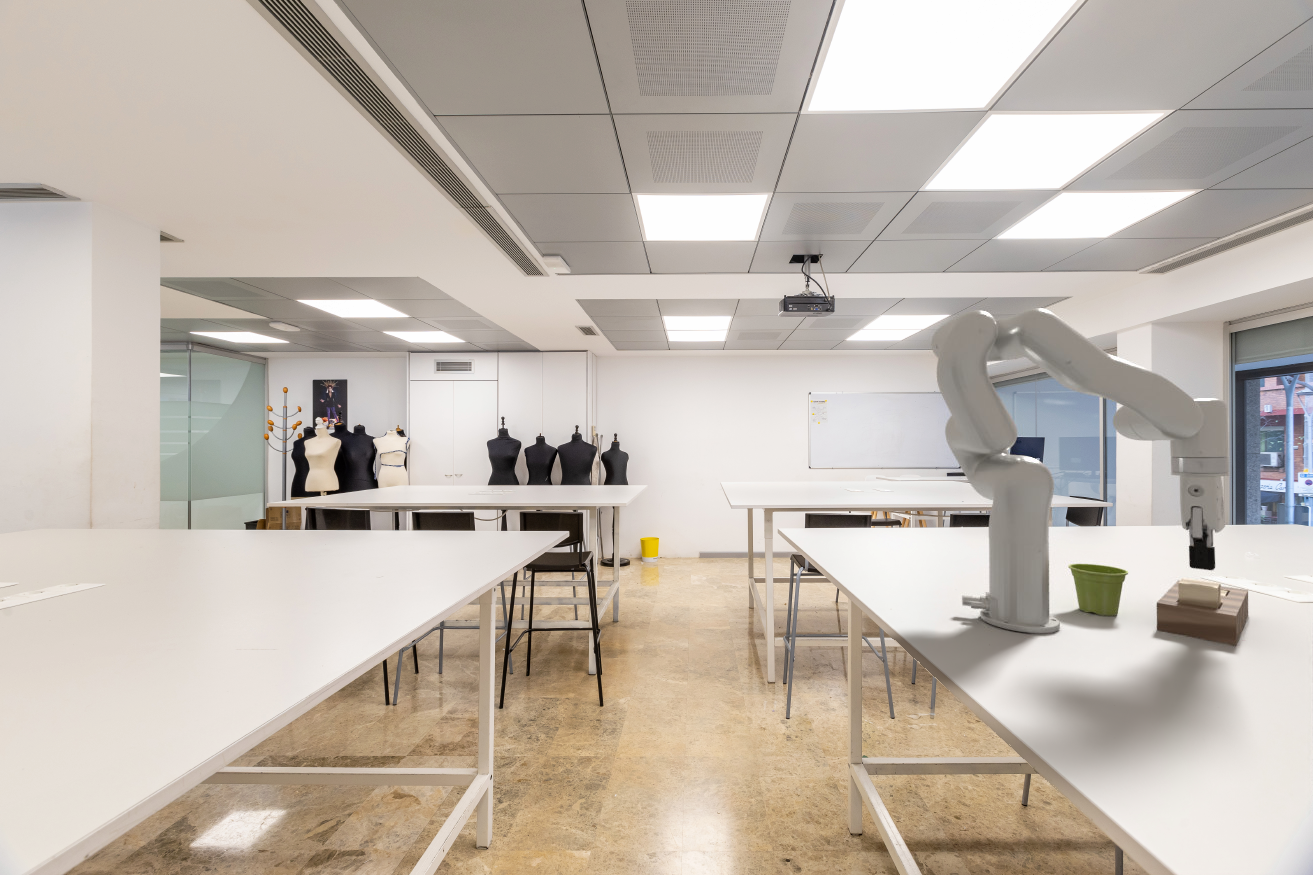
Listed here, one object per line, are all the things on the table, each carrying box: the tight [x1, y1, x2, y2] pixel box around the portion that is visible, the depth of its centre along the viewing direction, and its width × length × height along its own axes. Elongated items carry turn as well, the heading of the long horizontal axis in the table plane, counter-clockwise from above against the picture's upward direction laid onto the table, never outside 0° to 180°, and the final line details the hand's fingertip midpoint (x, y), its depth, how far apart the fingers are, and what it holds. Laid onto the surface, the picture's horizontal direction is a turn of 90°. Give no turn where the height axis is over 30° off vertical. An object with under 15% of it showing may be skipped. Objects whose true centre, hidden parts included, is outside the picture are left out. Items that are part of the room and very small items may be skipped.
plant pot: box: [1068, 563, 1129, 617], centre depth 112 cm, size 9×9×9 cm
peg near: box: [1178, 577, 1222, 609], centre depth 101 cm, size 5×5×5 cm
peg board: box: [1156, 579, 1249, 646], centre depth 105 cm, size 24×10×5 cm, turn 130°
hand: (1202, 568), depth 101 cm, fingers closed
